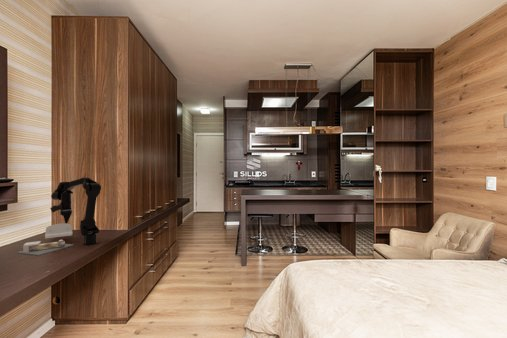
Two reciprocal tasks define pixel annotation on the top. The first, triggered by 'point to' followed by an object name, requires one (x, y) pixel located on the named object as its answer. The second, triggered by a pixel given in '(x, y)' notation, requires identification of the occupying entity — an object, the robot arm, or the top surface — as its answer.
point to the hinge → (58, 230)
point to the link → (49, 245)
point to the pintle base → (30, 251)
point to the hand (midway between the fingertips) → (66, 223)
